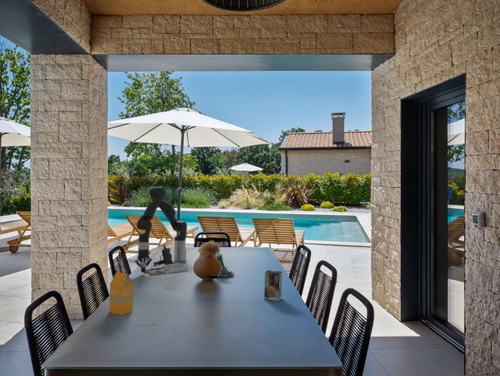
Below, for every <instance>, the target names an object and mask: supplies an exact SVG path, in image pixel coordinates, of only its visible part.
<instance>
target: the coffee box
mask: <svg viewBox="0 0 500 376" xmlns="http://www.w3.org/2000/svg"><path fill="white" fill-rule="evenodd" d="M282 281H283V272H282V271H278V270H269V269H268V270H266V271H265V272H264V293H263V295H264V297H265V298H264V297H263V298H264V300H266V301H274V302H280V301H281V300H282V284H283V282H282ZM280 297H281V298H280ZM269 298H275V299H269ZM279 298H280V299H279ZM276 299H279V300H276Z"/></svg>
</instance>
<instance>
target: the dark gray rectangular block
mask: <svg viewBox="0 0 500 376" xmlns="http://www.w3.org/2000/svg"><path fill="white" fill-rule="evenodd" d="M150 268H151V271H154V270H158V269H159V268H158V267H157V266H151V267H150Z"/></svg>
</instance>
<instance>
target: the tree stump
mask: <svg viewBox="0 0 500 376" xmlns="http://www.w3.org/2000/svg"><path fill="white" fill-rule="evenodd" d="M217 254H218V255H217ZM217 254H216V255H217V256H216V257H217V259H218V260H219V261H220V263H221V266H222V270H221V273H220V274H219V276H218V277H217V279H218V278H220V279H222V278H231V277H234V276H235V273H234V272H233V271H229V269H227V266H226V265H225V263H224V260H223V259H224V258H223V254H222V253H217Z"/></svg>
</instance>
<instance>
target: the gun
mask: <svg viewBox="0 0 500 376" xmlns="http://www.w3.org/2000/svg"><path fill="white" fill-rule="evenodd" d="M173 261H174V260H173V255H172V254H171V248H170V247H167V246H166V244H165V243H164V244H163V248H162V250H161V255H160V256H159V260H158V261H153V267H156V266H161V265H168V264H175V263H174V262H173Z"/></svg>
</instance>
